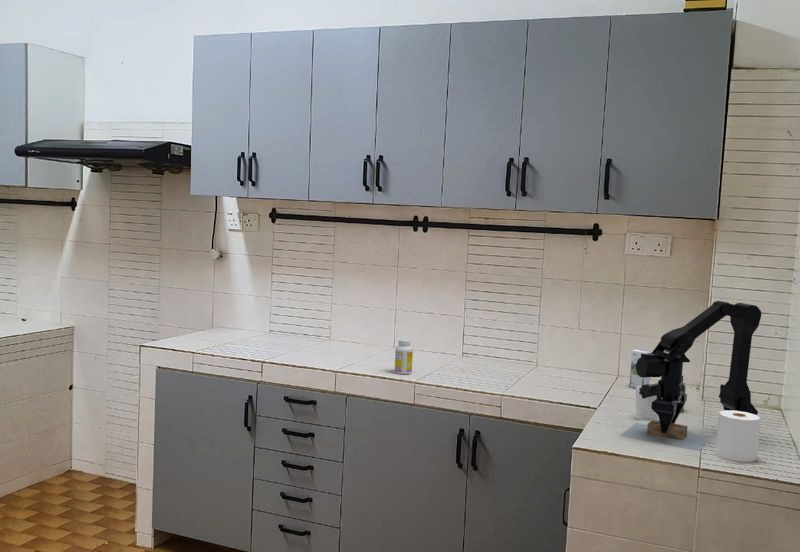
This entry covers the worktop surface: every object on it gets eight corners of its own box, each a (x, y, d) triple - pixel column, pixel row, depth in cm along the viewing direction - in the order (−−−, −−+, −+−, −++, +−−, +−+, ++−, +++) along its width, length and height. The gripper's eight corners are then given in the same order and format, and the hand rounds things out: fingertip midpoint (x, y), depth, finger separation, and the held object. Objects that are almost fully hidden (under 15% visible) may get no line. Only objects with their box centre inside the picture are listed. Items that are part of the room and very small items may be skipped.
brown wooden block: (686, 435, 231) (687, 425, 231) (682, 440, 226) (683, 430, 226) (652, 429, 236) (652, 419, 236) (647, 433, 231) (647, 423, 231)
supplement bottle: (411, 371, 308) (413, 339, 307) (412, 375, 301) (413, 342, 300) (394, 371, 308) (395, 338, 307) (394, 374, 301) (396, 341, 300)
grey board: (711, 438, 232) (711, 429, 232) (699, 453, 217) (700, 443, 216) (635, 425, 243) (636, 416, 243) (619, 438, 228) (620, 428, 228)
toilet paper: (708, 452, 218) (712, 409, 217) (745, 453, 219) (748, 410, 218) (725, 464, 208) (729, 419, 207) (763, 465, 209) (767, 420, 208)
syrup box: (650, 388, 298) (653, 350, 297) (643, 390, 294) (645, 352, 292) (636, 385, 302) (638, 348, 301) (628, 387, 298) (631, 349, 296)
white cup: (639, 414, 257) (642, 384, 256) (663, 419, 252) (666, 389, 251) (630, 419, 251) (632, 388, 250) (654, 424, 246) (656, 392, 245)
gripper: (651, 368, 242) (647, 418, 243) (635, 377, 226) (631, 431, 227) (689, 373, 236) (685, 424, 237) (675, 383, 220) (671, 438, 221)
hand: (667, 429), depth 231 cm, fingers open, 9 cm apart
